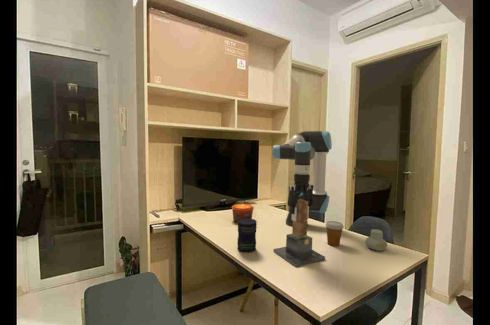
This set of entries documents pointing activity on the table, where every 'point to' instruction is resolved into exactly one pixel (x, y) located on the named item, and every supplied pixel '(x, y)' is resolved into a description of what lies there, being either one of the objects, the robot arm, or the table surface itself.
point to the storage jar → (246, 235)
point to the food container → (242, 211)
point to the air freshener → (376, 240)
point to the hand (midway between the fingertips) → (300, 219)
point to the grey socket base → (298, 251)
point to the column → (300, 220)
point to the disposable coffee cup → (334, 232)
